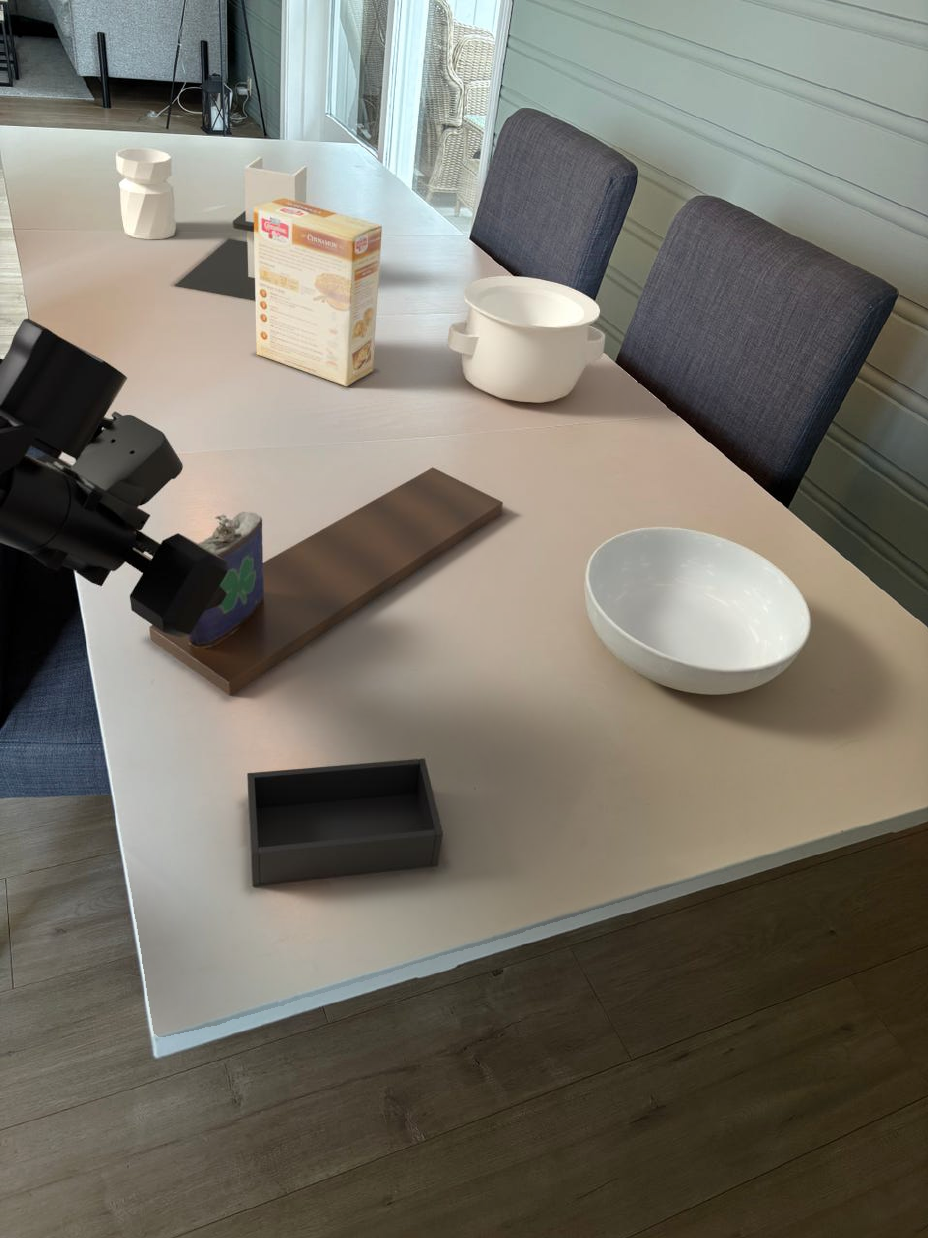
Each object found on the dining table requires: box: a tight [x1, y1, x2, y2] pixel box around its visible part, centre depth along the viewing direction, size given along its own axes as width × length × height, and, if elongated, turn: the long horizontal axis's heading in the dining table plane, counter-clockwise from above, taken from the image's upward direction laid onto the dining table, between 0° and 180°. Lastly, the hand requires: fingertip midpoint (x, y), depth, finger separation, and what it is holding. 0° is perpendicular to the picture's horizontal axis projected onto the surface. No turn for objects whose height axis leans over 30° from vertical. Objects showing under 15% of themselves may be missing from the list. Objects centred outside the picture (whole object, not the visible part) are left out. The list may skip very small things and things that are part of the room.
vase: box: [115, 147, 177, 240], centre depth 153 cm, size 9×9×12 cm
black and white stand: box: [174, 156, 308, 301], centre depth 144 cm, size 25×24×16 cm
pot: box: [446, 275, 607, 404], centre depth 124 cm, size 22×17×12 cm
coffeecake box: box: [254, 198, 383, 387], centre depth 120 cm, size 15×7×20 cm, turn 63°
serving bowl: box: [584, 526, 812, 695], centre depth 86 cm, size 21×21×7 cm
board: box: [148, 466, 504, 696], centre depth 91 cm, size 40×10×2 cm, turn 143°
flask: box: [189, 511, 264, 649], centre depth 77 cm, size 9×3×11 cm, turn 153°
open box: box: [246, 757, 444, 887], centre depth 65 cm, size 13×7×4 cm, turn 102°
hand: (182, 572), depth 73 cm, fingers open, 9 cm apart
